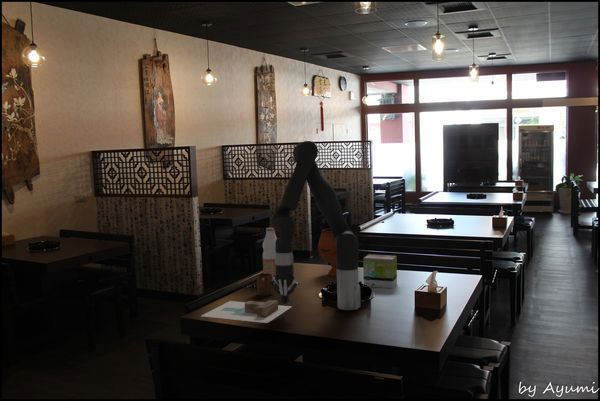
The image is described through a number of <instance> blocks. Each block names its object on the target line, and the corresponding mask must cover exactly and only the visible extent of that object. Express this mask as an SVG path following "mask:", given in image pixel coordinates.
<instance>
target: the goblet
mask: <svg viewBox="0 0 600 401" xmlns="http://www.w3.org/2000/svg"><path fill="white" fill-rule="evenodd" d="M317 251H318V254H319V255H320V257H321V258H322V259H323V260H324V261H325V262H327V263H329V264H330V266H331V269H329V270H328V273H327V274H328V276H332V277H334V276H335V277H337V268H336V263H337V247H336V244H335V241H334V237H333V235H332V232H331V229H330V227H329V228H325V229H322V230H321V234H320V237H319V241H318V245H317Z"/></svg>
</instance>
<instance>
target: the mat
mask: <svg viewBox="0 0 600 401" xmlns="http://www.w3.org/2000/svg"><path fill="white" fill-rule="evenodd" d="M246 302H247V301H246ZM246 302H245V301H234V300H229V301H227V302H225V303H223V304H221V305H219V306H217V307H216V308H214V309H211V310H209V311H208V312H205V313H204V314H202V315H200V317H201V318H202V317H206V318H212V319H213V318H215V319H225V320H233V321H234V320H235V321H243V322H253V323H262V324H263V323H264V324H268V323H270V322H271V321H273V320H275V319H276V318H277V317H279V316H281V315H282V314H284V313H285V312H286V311H288V310H289V309H291V308H293V306H290V305H280V304H278V310H277V311H275V312H274V313H272V314H271V315H269V316H267V317H266V318H263V317H257V314H255V313H245V303H246Z"/></svg>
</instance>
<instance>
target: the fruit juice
mask: <svg viewBox="0 0 600 401" xmlns="http://www.w3.org/2000/svg"><path fill="white" fill-rule="evenodd" d="M265 232H266V233H265V237H264V240H263V242H262V249H263V252H262V268H263V269H262V270H263V273H262V274H272V277H273V280H274V279H275V276H276V273H275V254H276V250H275V242H276V239H278V237H277V235H276V230H274V228H273V227H266V228H265Z"/></svg>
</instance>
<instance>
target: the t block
mask: <svg viewBox="0 0 600 401" xmlns="http://www.w3.org/2000/svg"><path fill="white" fill-rule="evenodd" d="M278 305H279V300H277V299H275V300H273V299H268V300H267V301H265V302H264V301H255V300H248V301H246V303H245V313H255V314H257V317H263V318H266V317H267V316H269V315H271V314H272V313H274V312H275V311H277V310H278Z"/></svg>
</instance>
